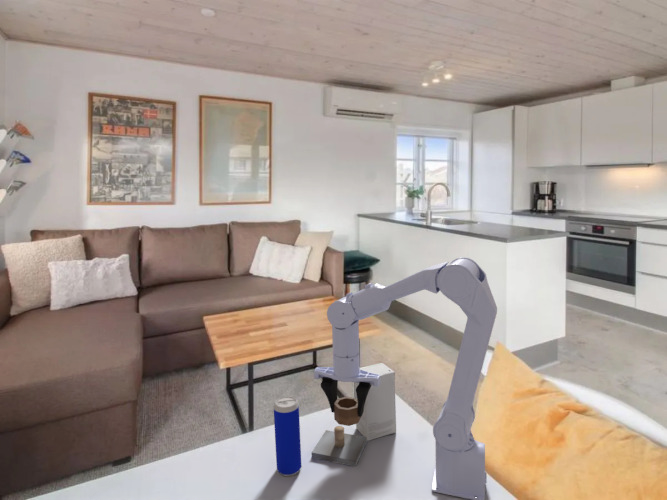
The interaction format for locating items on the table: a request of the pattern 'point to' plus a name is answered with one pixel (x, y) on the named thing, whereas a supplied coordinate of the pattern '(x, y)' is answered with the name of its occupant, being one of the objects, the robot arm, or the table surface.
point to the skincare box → (379, 405)
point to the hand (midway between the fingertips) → (347, 412)
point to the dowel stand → (339, 447)
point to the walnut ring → (346, 411)
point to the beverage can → (287, 436)
